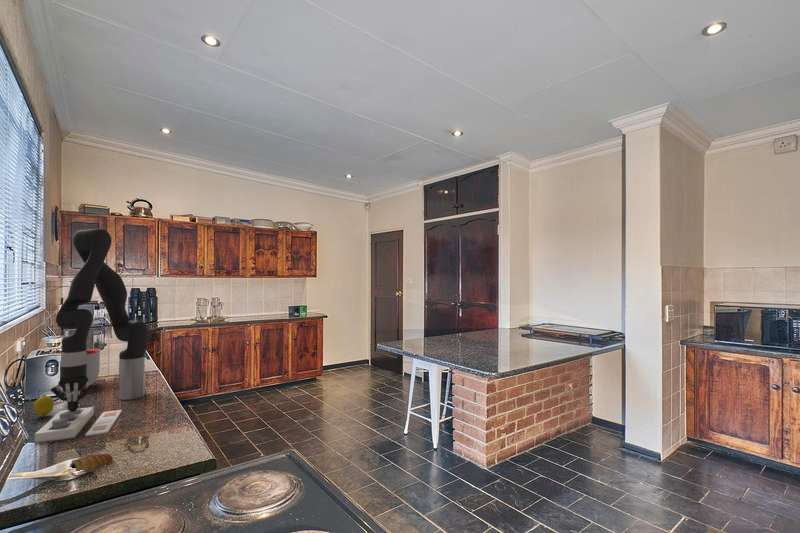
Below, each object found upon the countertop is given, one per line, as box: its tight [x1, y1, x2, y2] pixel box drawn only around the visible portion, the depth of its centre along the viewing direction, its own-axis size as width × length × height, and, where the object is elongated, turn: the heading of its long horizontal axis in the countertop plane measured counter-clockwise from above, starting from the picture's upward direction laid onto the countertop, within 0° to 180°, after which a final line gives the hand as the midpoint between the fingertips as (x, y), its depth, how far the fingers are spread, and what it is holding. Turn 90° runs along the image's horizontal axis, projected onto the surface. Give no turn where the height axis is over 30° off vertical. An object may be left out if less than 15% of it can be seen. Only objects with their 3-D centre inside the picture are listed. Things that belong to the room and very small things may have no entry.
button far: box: [67, 408, 81, 414], centre depth 145 cm, size 4×4×3 cm
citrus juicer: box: [80, 348, 101, 391], centre depth 184 cm, size 16×17×20 cm
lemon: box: [33, 395, 55, 418], centre depth 149 cm, size 6×6×8 cm
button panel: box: [34, 406, 95, 444], centre depth 138 cm, size 10×23×3 cm, turn 25°
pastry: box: [69, 453, 114, 474], centre depth 110 cm, size 9×7×4 cm
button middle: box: [60, 411, 75, 421], centre depth 138 cm, size 4×4×3 cm
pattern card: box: [85, 409, 123, 437], centre depth 143 cm, size 6×23×1 cm, turn 25°
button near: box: [52, 418, 68, 430], centre depth 132 cm, size 4×4×3 cm
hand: (73, 410), depth 144 cm, fingers closed
